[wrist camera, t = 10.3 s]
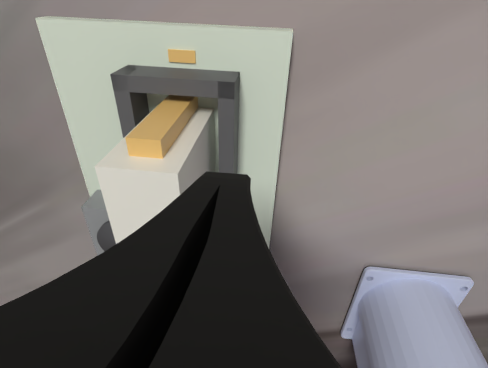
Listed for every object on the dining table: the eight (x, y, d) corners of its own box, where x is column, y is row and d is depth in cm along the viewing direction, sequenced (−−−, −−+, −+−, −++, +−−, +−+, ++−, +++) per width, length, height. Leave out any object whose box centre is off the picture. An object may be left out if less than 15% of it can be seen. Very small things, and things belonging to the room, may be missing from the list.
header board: (268, 253, 24) (265, 288, 21) (110, 236, 25) (88, 268, 22) (292, 28, 15) (294, 39, 12) (47, 16, 16) (-2, 23, 13)
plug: (215, 175, 19) (186, 257, 14) (166, 170, 20) (117, 249, 14) (213, 94, 17) (175, 154, 11) (156, 90, 17) (89, 147, 11)
